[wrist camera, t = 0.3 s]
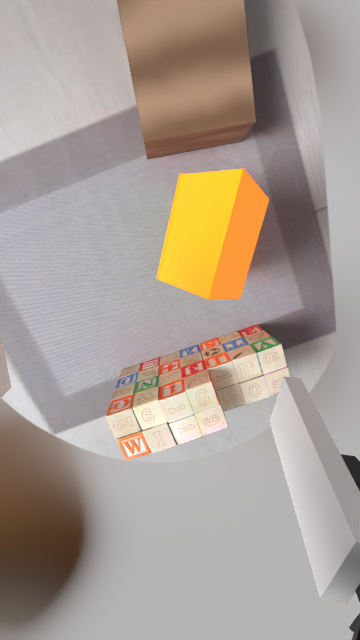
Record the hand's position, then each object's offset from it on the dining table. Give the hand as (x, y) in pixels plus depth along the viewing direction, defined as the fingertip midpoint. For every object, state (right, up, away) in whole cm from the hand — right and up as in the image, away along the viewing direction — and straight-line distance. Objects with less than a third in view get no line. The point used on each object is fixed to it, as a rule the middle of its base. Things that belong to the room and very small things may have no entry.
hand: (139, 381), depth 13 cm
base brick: (+2, +31, +20) cm, 37 cm away
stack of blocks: (+4, -4, +29) cm, 30 cm away
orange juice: (+4, +13, +25) cm, 28 cm away
